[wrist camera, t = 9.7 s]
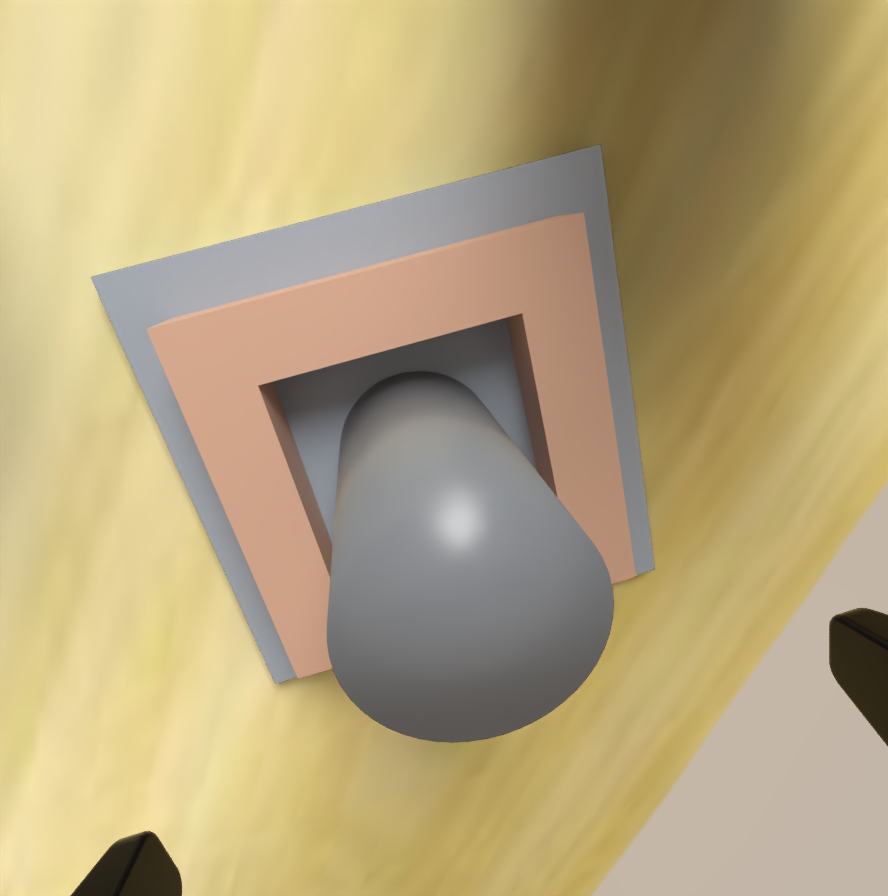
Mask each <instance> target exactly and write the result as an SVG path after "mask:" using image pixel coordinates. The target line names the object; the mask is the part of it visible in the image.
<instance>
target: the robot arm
mask: <svg viewBox="0 0 888 896" xmlns="http://www.w3.org/2000/svg"><path fill="white" fill-rule="evenodd" d="M829 663H830V668H831V671H832V673H833V676H834V677H835V679H836V681H837V682H838V684H839V685H840V686H841V688H842V689H843V690H844V691H845V693H846V694H847V695H848V697H849V698H850V699H851V700H852V702H853V703H854V704H855V705H856V707H857V708H858V709H859V710H860V712H861V713H862V714H863V716H864V717H865V718H866V719H867V721H868V722H869V723H870V724H871V726H872V727H873V728H874V729H875V731H876V732H877V733H878V735H880V737H881V738H882V740H883V741H884V742H885V743H886V745H887V746H888V615H887V614H884V613H880V612H877V611H874V610H871V609H867V608H857V609H854V610H850V611H847V612H844V613H841V614H838V615H835V616H834V617H833V618H832V619H831V621H830V625H829ZM71 896H182V881H181V876H180V873H179V870H178V868H177V867H176V865H175V864H174V862H173V860H172V859H171V857H170V856H169V854H168V852H167V851H166V849H165V848H164V846H163V845H162V843H161V841H160V840H159V838H158V837H157V835H156V834H155V833H153V832H151V831H144V832H141V833H138V834H135V835H132V836H129V837H125V838H122V839H120V840H118V841H116V842H115V843H114V844H113V845H112V846H111V847H110V848H109V849H108V850H107V851H106V853H105V854H104V855H103V856H102V857H101V859H100V860H99V861H98V862H97V864H96V865H95V866H94V867H93V869H92V870H91V871H90V872H89V873H88V875H87V876H86V877H85V878H84V880H83V881H82V882H81V883H80V885H79V886H78V887H77V888H76V889H75V891H74V892H73V893H72V894H71Z"/></svg>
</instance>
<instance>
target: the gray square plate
mask: <svg viewBox="0 0 888 896" xmlns="http://www.w3.org/2000/svg"><path fill="white" fill-rule="evenodd" d="M91 279H92V281H93V283H94V286H95V288H96V290H97V292H98V294H99V297H100V299H101V301H102V303H103V305H104V308H105V310H106V312H107V314H108V316H109V319H110V321H111V323H112V325H113V327H114V330H115V332H116V334H117V336H118V338H119V341H120V343H121V345H122V347H123V349H124V352H125V354H126V356H127V358H128V360H129V363H130V365H131V367H132V369H133V371H134V374H135V376H136V378H137V380H138V382H139V385H140V387H141V389H142V391H143V393H144V396H145V398H146V400H147V402H148V405H149V407H150V409H151V411H152V413H153V416H154V418H155V420H156V422H157V424H158V427H159V429H160V431H161V433H162V435H163V438H164V440H165V442H166V444H167V446H168V449H169V451H170V453H171V455H172V457H173V460H174V462H175V464H176V466H177V468H178V471H179V473H180V475H181V477H182V479H183V482H184V484H185V486H186V488H187V490H188V493H189V495H190V497H191V499H192V501H193V504H194V506H195V508H196V510H197V512H198V515H199V517H200V519H201V521H202V523H203V526H204V528H205V530H206V532H207V535H208V537H209V539H210V541H211V543H212V546H213V548H214V550H215V552H216V554H217V557H218V559H219V561H220V563H221V565H222V568H223V570H224V572H225V574H226V576H227V579H228V581H229V583H230V585H231V587H232V590H233V592H234V594H235V596H236V598H237V601H238V603H239V605H240V607H241V609H242V612H243V614H244V616H245V618H246V620H247V623H248V625H249V627H250V629H251V631H252V634H253V636H254V638H255V640H256V642H257V645H258V647H259V649H260V651H261V654H262V656H263V658H264V660H265V662H266V665H267V667H268V669H269V671H270V673H271V676H272V678H273V680H274V682H275V684H276V683H280V682H283V681H286V680H289V679H293V678H296V677H297V678H298V679H300V678H303V677H306V676H310V675H313V674H316V673H320V672H323V671H326V670H329V669H333V668H332V665H331V662H330V658H329V654H328V647H327V616H328V602H329V588H330V575H331V561H332V547H333V534H334V520H335V506H336V493H337V479H338V465H339V452H340V439H341V433H342V429H343V426H344V422H345V420H346V418H347V416H348V413H349V411H350V410H351V408H352V407H353V405H354V404H355V402H356V401H357V400H358V399H359V398H360V397H361V395H363V394H364V393H365V392H366V391H367V390H368V389H369V388H371V387H372V386H374V385H375V384H377V383H378V382H380V381H382V380H384V379H386V378H388V377H391V376H394V375H397V374H400V373H405V372H412V371H429V372H435V373H440V374H443V375H446V376H449V377H451V378H453V379H455V380H458V381H459V382H461V383H462V384H464V385H465V386H467V387H468V388H469V389H470V390H471V391H473V392H474V393H475V394H476V395H477V397H478V398H479V399H480V400H481V401H482V403H483V404H484V405H485V406H486V408H487V409H488V410H489V411H490V413H491V414H492V415H493V417H494V418H495V419H496V420H497V422H498V423H499V424H500V425H501V427H502V428H503V429H504V430H505V432H506V433H507V434H508V436H509V437H510V438H511V439H512V441H513V442H514V443H515V444H516V446H517V447H518V448H519V449H520V451H521V452H522V453H523V455H524V456H525V457H526V458H527V460H528V461H529V462H530V463H531V465H532V466H533V467H534V468H535V470H536V471H537V472H538V473H539V475H540V476H541V477H542V479H543V480H544V481H545V482H546V484H547V485H548V486H549V487H550V489H551V490H552V491H553V492H554V494H555V495H556V496H557V498H558V499H559V500H560V501H561V503H562V504H563V505H564V506H565V508H566V509H567V510H568V511H569V513H570V514H571V515H572V517H573V518H574V519H575V520H576V522H577V523H578V524H579V525H580V527H581V528H582V529H583V530H584V532H585V533H586V534H587V535H588V537H589V538H590V539H591V541H592V542H593V543H594V544H595V546H596V548H597V549H598V551H599V552H600V554H601V556H602V557H603V559H604V562H605V564H606V567H607V569H608V571H609V575H610V579H611V583H612V584H614V583H618V582H621V581H624V580H628V579H631V578H634V577H636V575H638V574H641V573H644V572H648V571H651V570H654V569H655V564H654V556H653V549H652V541H651V533H650V525H649V517H648V510H647V502H646V494H645V486H644V478H643V471H642V463H641V455H640V447H639V439H638V432H637V424H636V416H635V408H634V400H633V392H632V385H631V377H630V369H629V361H628V353H627V346H626V338H625V330H624V322H623V314H622V307H621V299H620V291H619V283H618V275H617V268H616V260H615V252H614V244H613V236H612V228H611V221H610V213H609V205H608V197H607V189H606V182H605V174H604V166H603V158H602V150H601V144H599V145H596V146H592V147H588V148H584V149H580V150H576V151H573V152H569V153H565V154H561V155H557V156H553V157H550V158H546V159H542V160H538V161H534V162H530V163H526V164H523V165H519V166H515V167H511V168H507V169H503V170H500V171H496V172H492V173H488V174H484V175H480V176H477V177H473V178H469V179H465V180H461V181H457V182H454V183H450V184H446V185H442V186H438V187H434V188H430V189H427V190H423V191H419V192H415V193H411V194H407V195H404V196H400V197H396V198H392V199H388V200H384V201H381V202H377V203H373V204H369V205H365V206H361V207H357V208H354V209H350V210H346V211H342V212H338V213H334V214H331V215H327V216H323V217H319V218H315V219H311V220H308V221H304V222H300V223H296V224H292V225H288V226H284V227H281V228H277V229H273V230H269V231H265V232H261V233H258V234H254V235H250V236H246V237H242V238H238V239H235V240H231V241H227V242H223V243H219V244H215V245H211V246H208V247H204V248H200V249H196V250H192V251H188V252H185V253H181V254H177V255H173V256H169V257H165V258H162V259H158V260H154V261H150V262H146V263H142V264H138V265H135V266H131V267H127V268H123V269H119V270H115V271H112V272H108V273H104V274H100V275H96V276H92V277H91Z"/></svg>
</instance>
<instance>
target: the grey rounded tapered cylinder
mask: <svg viewBox="0 0 888 896" xmlns="http://www.w3.org/2000/svg"><path fill="white" fill-rule="evenodd" d="M613 610H614V598H613V587H612V583H611V579H610V575H609V571H608V569H607V567H606V564H605V562H604V559H603V557H602V556H601V554H600V552H599V551H598V549H597V548H596V546H595V544H594V543H593V542H592V541H591V539H590V538H589V537H588V535H587V534H586V533H585V532H584V530H583V529H582V528H581V527H580V525H579V524H578V523H577V522H576V520H575V519H574V518H573V517H572V515H571V514H570V513H569V511H568V510H567V509H566V508H565V506H564V505H563V504H562V503H561V501H560V500H559V499H558V498H557V496H556V495H555V494H554V492H553V491H552V490H551V489H550V487H549V486H548V485H547V484H546V482H545V481H544V480H543V479H542V477H541V476H540V475H539V473H538V472H537V471H536V470H535V468H534V467H533V466H532V465H531V463H530V462H529V461H528V460H527V458H526V457H525V456H524V455H523V453H522V452H521V451H520V449H519V448H518V447H517V446H516V444H515V443H514V442H513V441H512V439H511V438H510V437H509V436H508V434H507V433H506V432H505V430H504V429H503V428H502V427H501V425H500V424H499V423H498V422H497V420H496V419H495V418H494V417H493V415H492V414H491V413H490V411H489V410H488V409H487V408H486V406H485V405H484V404H483V403H482V401H481V400H480V399H479V398H478V397H477V395H476V394H475V393H474V392H473V391H471V390H470V389H469V388H468V387H467V386H465V385H464V384H462V383H461V382H459V381H458V380H455V379H453V378H451V377H449V376H446V375H443V374H440V373H435V372H429V371H412V372H405V373H400V374H397V375H394V376H391V377H388V378H386V379H384V380H382V381H380V382H378V383H377V384H375V385H374V386H372V387H371V388H369V389H368V390H367V391H366V392H365V393H364V394H363V395H361V397H360V398H359V399H358V400H357V401H356V402H355V404H354V405H353V407H352V408H351V410H350V411H349V413H348V416H347V418H346V420H345V422H344V426H343V429H342V433H341V439H340V452H339V465H338V479H337V493H336V506H335V520H334V534H333V547H332V561H331V575H330V588H329V602H328V616H327V647H328V654H329V658H330V662H331V665H332V668H333V671H334V673H335V675H336V677H337V679H338V682H339V684H340V686H341V687H342V688H343V690H344V691H345V693H346V694H347V695H348V697H349V698H350V699H351V700H352V701H353V702H354V703H355V705H356V706H357V707H358V708H359V709H360V710H361V711H363V712H364V713H365V714H367V715H368V716H369V717H370V718H372V719H373V720H375V721H376V722H378V723H380V724H382V725H383V726H385V727H387V728H389V729H391V730H394V731H396V732H399V733H401V734H404V735H407V736H411V737H414V738H418V739H423V740H429V741H436V742H469V741H476V740H483V739H488V738H492V737H496V736H500V735H504V734H507V733H509V732H512V731H515V730H517V729H520V728H522V727H524V726H526V725H529V724H531V723H533V722H535V721H537V720H538V719H540V718H542V717H543V716H545V715H546V714H548V713H550V712H551V711H553V710H554V709H555V708H557V707H558V706H559V705H560V704H562V703H563V702H564V701H565V700H567V699H568V698H569V697H570V696H571V695H572V694H573V693H574V692H575V691H576V690H577V689H578V688H579V687H580V686H581V684H582V683H583V682H584V681H585V680H586V679H587V677H588V676H589V674H590V673H591V671H592V670H593V668H594V667H595V666H596V664H597V662H598V660H599V658H600V656H601V654H602V652H603V650H604V648H605V646H606V643H607V640H608V637H609V634H610V630H611V625H612V620H613Z"/></svg>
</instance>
